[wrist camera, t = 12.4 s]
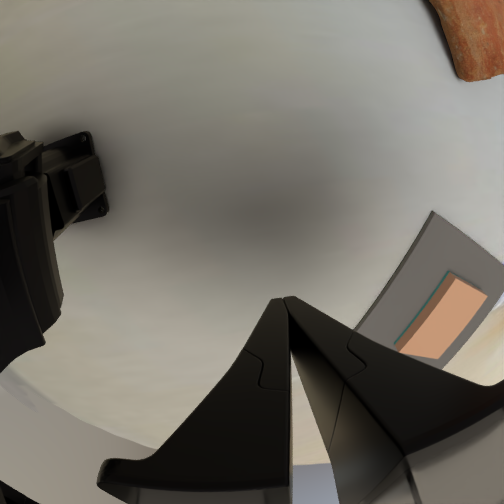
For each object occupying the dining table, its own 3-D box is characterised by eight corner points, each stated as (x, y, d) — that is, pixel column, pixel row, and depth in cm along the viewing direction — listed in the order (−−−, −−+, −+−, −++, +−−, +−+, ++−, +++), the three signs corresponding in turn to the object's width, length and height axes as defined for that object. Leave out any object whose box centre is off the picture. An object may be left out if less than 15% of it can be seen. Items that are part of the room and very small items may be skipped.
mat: (331, 357, 30) (333, 360, 29) (432, 210, 22) (435, 213, 22) (435, 371, 34) (437, 374, 34) (512, 273, 27) (514, 274, 26)
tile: (398, 352, 28) (437, 359, 29) (455, 278, 23) (487, 296, 25) (393, 343, 29) (432, 351, 31) (447, 270, 25) (480, 288, 27)
